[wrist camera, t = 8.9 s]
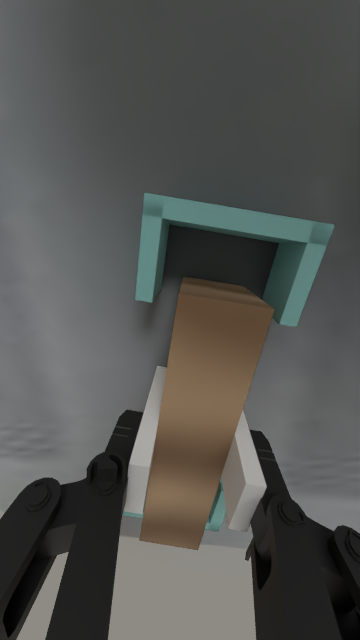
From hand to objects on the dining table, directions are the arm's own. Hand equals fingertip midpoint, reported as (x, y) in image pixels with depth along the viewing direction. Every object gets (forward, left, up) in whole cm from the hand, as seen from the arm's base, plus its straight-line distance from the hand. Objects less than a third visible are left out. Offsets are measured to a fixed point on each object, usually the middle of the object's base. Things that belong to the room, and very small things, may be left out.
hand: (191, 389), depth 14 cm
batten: (0, 0, -1) cm, 1 cm away
